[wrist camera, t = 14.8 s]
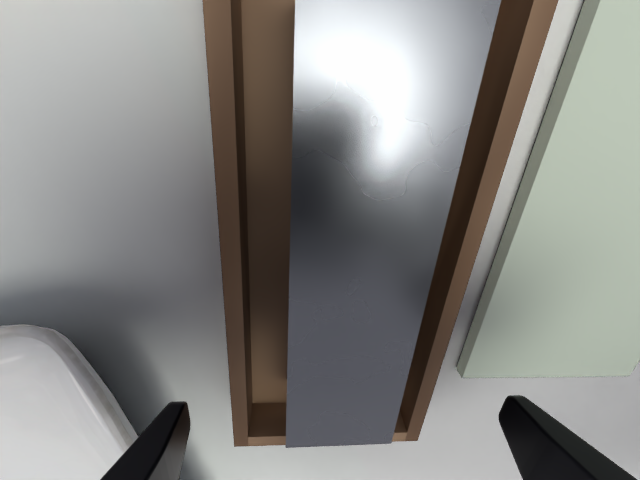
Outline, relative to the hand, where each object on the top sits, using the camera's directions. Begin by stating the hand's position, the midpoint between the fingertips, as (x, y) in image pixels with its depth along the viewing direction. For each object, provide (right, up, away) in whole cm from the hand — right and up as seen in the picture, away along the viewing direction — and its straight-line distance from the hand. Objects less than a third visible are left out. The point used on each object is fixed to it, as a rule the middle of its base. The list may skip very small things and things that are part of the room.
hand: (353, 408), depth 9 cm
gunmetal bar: (0, +5, +3) cm, 5 cm away
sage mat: (+11, +6, +4) cm, 13 cm away
